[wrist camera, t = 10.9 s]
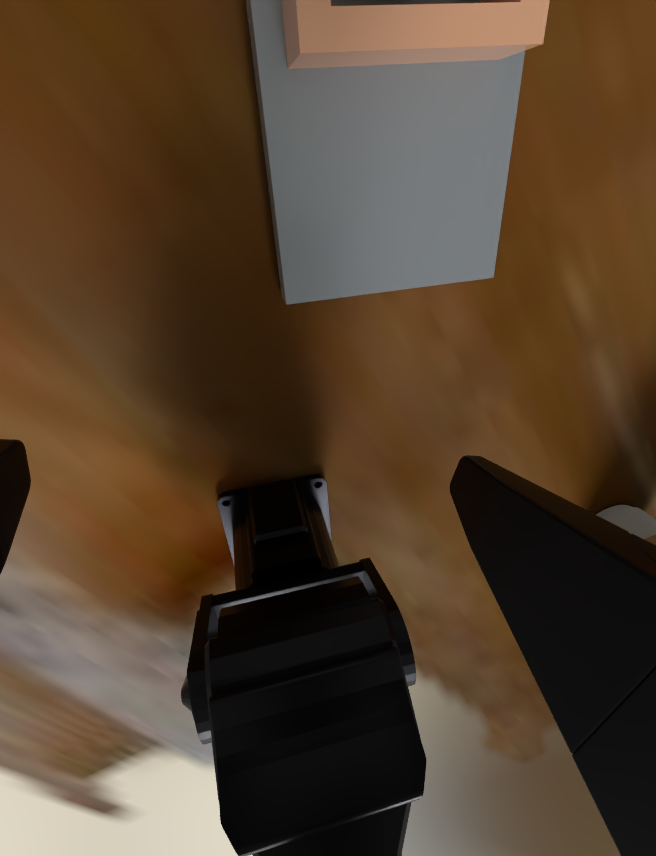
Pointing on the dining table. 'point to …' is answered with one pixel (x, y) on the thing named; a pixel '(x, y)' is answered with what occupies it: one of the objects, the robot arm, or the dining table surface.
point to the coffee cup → (632, 521)
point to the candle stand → (387, 137)
